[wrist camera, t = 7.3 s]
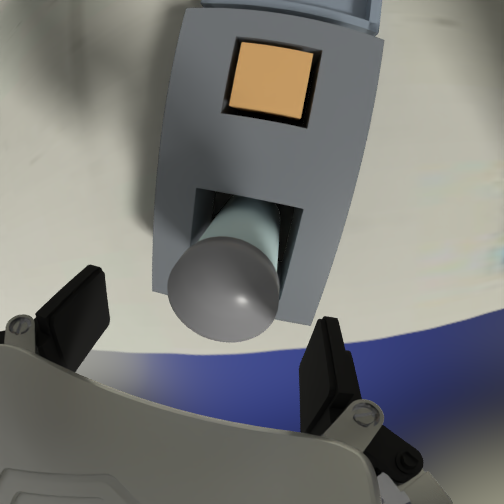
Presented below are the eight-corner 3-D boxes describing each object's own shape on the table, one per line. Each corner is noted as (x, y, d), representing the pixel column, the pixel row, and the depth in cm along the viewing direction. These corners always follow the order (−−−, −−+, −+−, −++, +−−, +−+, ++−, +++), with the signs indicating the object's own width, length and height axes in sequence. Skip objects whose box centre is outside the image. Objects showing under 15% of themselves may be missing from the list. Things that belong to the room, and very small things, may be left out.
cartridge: (288, 195, 23) (291, 261, 12) (275, 253, 25) (265, 351, 14) (225, 182, 23) (169, 235, 12) (216, 240, 25) (166, 328, 14)
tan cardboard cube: (306, 70, 17) (313, 53, 13) (297, 121, 19) (300, 118, 14) (251, 61, 17) (241, 42, 13) (242, 111, 19) (229, 105, 14)
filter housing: (360, 60, 17) (384, 40, 12) (306, 284, 26) (310, 325, 20) (209, 33, 18) (186, 8, 12) (178, 257, 26) (152, 291, 21)
